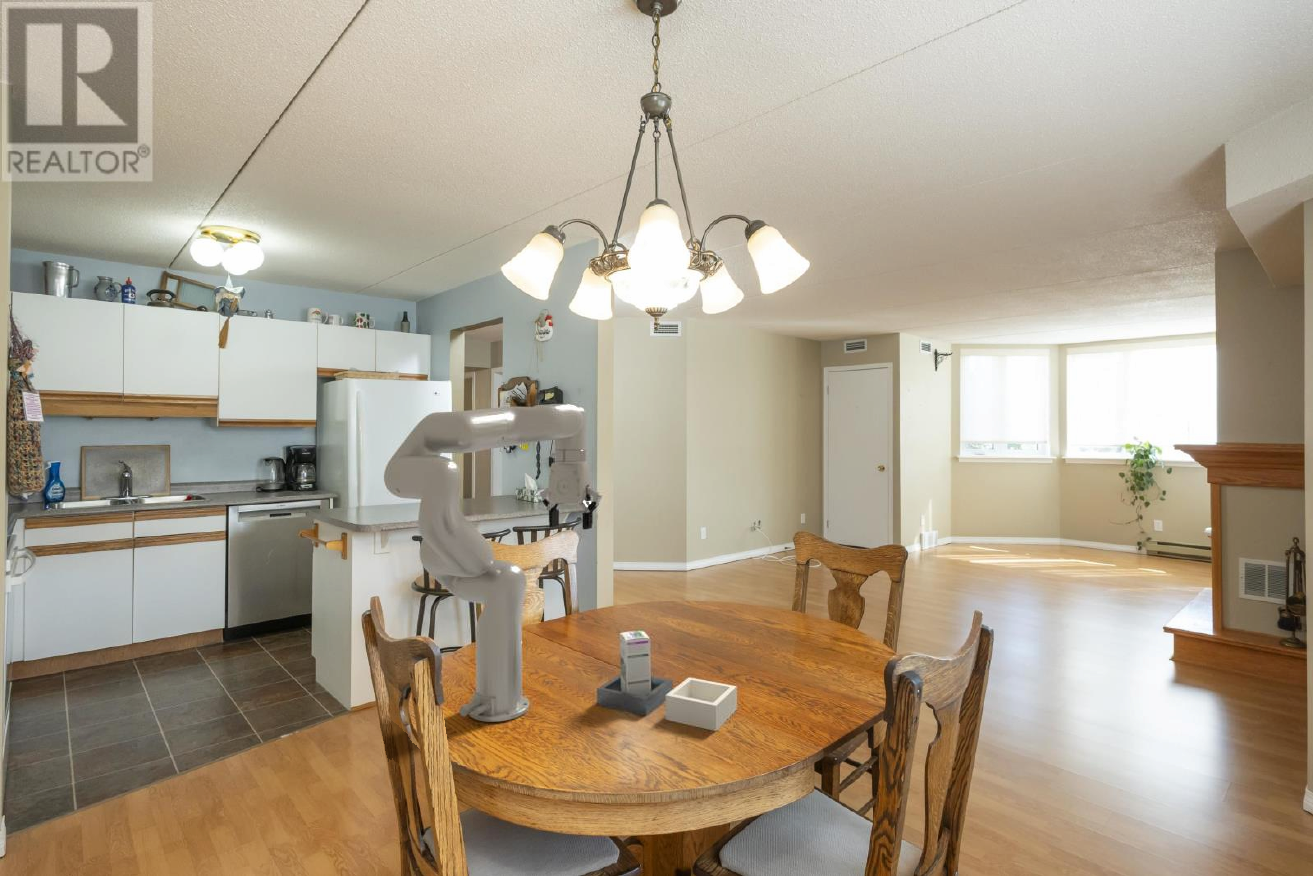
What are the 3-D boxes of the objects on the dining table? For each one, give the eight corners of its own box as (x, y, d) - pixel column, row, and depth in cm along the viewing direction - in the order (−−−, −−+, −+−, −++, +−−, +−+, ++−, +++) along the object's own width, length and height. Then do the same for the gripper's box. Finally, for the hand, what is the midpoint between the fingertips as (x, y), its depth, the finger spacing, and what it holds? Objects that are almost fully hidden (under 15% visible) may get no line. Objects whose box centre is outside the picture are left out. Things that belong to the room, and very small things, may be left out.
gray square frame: (646, 716, 133) (646, 699, 133) (596, 705, 139) (596, 688, 139) (672, 695, 144) (672, 680, 144) (625, 686, 150) (625, 670, 150)
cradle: (716, 731, 126) (716, 705, 126) (665, 719, 132) (665, 695, 132) (736, 710, 136) (736, 686, 136) (689, 700, 142) (689, 677, 142)
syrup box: (651, 703, 140) (651, 637, 140) (625, 707, 138) (625, 639, 138) (644, 694, 145) (644, 629, 145) (619, 697, 144) (619, 631, 144)
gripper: (532, 457, 157) (532, 527, 157) (592, 458, 150) (592, 531, 150) (550, 456, 164) (550, 523, 164) (608, 457, 156) (608, 527, 156)
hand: (570, 527), depth 157 cm, fingers open, 9 cm apart
